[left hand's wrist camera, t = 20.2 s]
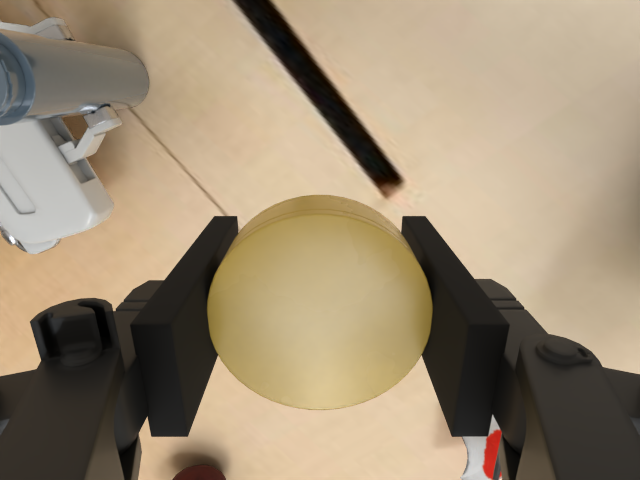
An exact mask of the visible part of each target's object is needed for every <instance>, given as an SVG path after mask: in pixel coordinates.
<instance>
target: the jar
mask: <svg viewBox="0 0 640 480" xmlns="http://www.w3.org/2000/svg"><path fill="white" fill-rule="evenodd" d="M148 88H149V78H148V74H147V71H146V69H145V67H144V65H143V64H142V62H141V61H140V60H139V59H138V58H137V57H136V56H135V55H134V54H132V53H131V52H129V51H127V50H124V49H120V48H114V47H108V46H102V45H96V44H90V43H84V42H78V41H72V40H66V39H60V38H54V37H48V36H42V35H36V34H30V33H24V32H18V31H12V30H6V29H0V126H4V125H12V124H19V123H26V122H34V121H41V120H48V119H55V118H62V117H69V116H76V115H83V114H89V113H93V112H95V111H96V110H97V109H99V108H102V107H105V106H108V107H109V106H113V108H114V109H115V110H119V109H126V108H132V107H135V106H137V105H138V104H140V103H141V102H142V101H143V100H144V98H145V97H146V95H147V92H148Z"/></svg>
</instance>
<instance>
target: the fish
mask: <svg viewBox="0 0 640 480" xmlns="http://www.w3.org/2000/svg"><path fill="white" fill-rule="evenodd" d="M501 433H502V432H501V430H500V428H499V426H498V424H497V422H496V420H495V418H494V416H493V415H492V420H491V425H490V430H489V435H488V437H462V438H463V441H464V443H465V445H466V448H467V454H468V459H467V465H466V468H465V471H464V473H463V475H462V476H461V477H460V478H461V479H462V480H493V473H494V467H495V462H496V457H497V453H498V448H499V443H500V438H501ZM501 478H502V474H501V472H500V476H499V480H500V479H501Z"/></svg>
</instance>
